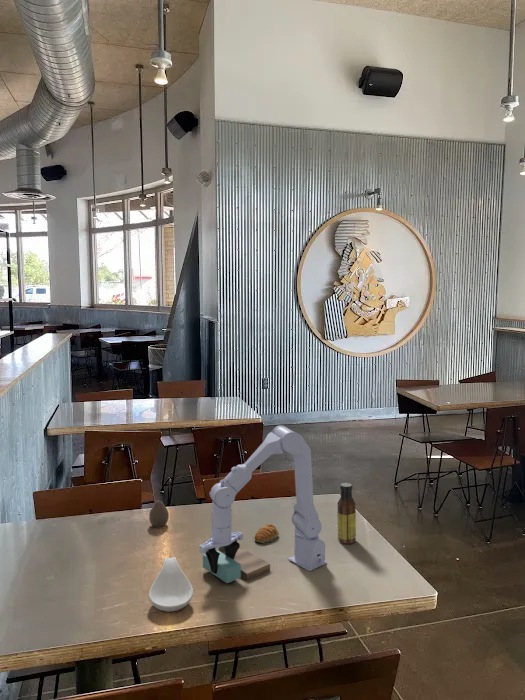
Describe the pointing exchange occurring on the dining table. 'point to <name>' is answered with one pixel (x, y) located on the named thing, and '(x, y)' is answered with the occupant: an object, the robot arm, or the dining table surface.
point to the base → (249, 563)
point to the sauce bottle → (346, 515)
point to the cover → (224, 568)
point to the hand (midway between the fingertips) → (221, 569)
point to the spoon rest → (170, 587)
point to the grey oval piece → (158, 514)
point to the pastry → (266, 534)
